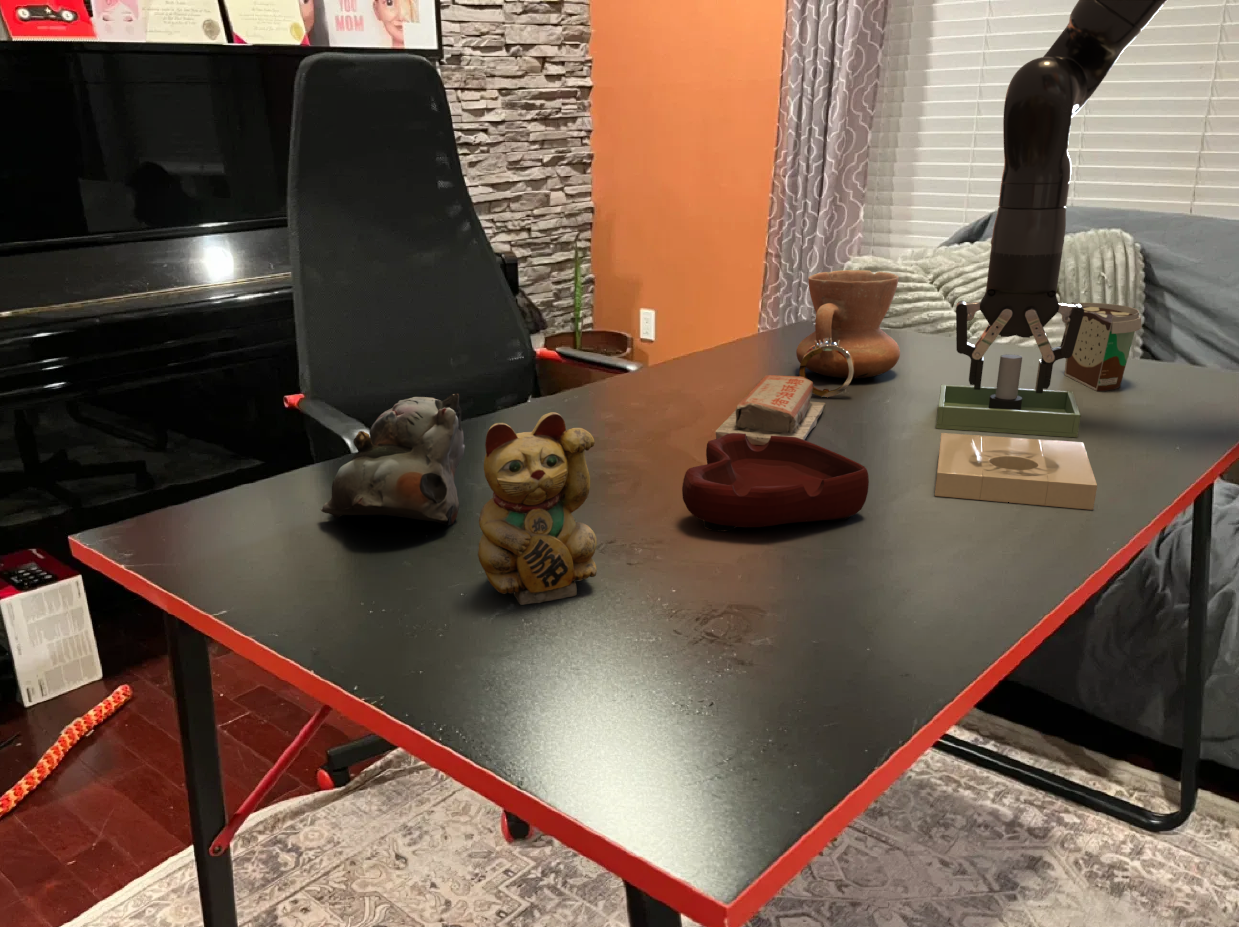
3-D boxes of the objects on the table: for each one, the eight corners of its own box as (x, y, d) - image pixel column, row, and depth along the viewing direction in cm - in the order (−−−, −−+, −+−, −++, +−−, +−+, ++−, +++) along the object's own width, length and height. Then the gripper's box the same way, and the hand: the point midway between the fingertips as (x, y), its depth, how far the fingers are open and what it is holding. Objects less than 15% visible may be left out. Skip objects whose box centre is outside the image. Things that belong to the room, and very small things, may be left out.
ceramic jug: (829, 357, 159) (835, 264, 154) (918, 368, 149) (928, 270, 144) (768, 379, 147) (772, 280, 141) (861, 394, 137) (869, 287, 132)
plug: (1019, 413, 124) (1027, 353, 121) (1020, 421, 121) (1028, 360, 118) (987, 411, 125) (994, 352, 123) (987, 419, 122) (995, 358, 120)
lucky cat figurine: (306, 512, 101) (335, 378, 102) (417, 536, 107) (443, 409, 108) (352, 514, 88) (385, 360, 89) (475, 542, 94) (504, 396, 95)
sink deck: (1079, 464, 107) (1083, 442, 106) (1093, 510, 95) (1097, 485, 94) (938, 454, 112) (941, 432, 111) (934, 496, 100) (937, 472, 99)
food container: (1149, 392, 133) (1163, 316, 129) (1102, 393, 133) (1114, 317, 129) (1103, 371, 144) (1114, 300, 141) (1059, 372, 145) (1070, 301, 141)
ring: (796, 398, 136) (799, 339, 133) (801, 392, 139) (804, 334, 136) (849, 402, 134) (854, 341, 131) (853, 396, 136) (858, 337, 133)
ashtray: (858, 553, 87) (862, 499, 86) (673, 534, 93) (673, 483, 91) (872, 487, 103) (876, 439, 101) (713, 474, 108) (714, 429, 107)
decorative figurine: (498, 618, 78) (487, 432, 73) (464, 579, 85) (451, 406, 80) (610, 593, 82) (607, 413, 76) (568, 557, 89) (562, 390, 83)
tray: (1069, 412, 126) (1072, 391, 125) (1077, 437, 116) (1080, 414, 115) (938, 404, 131) (941, 384, 130) (936, 428, 121) (938, 406, 120)
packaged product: (749, 370, 132) (827, 374, 128) (748, 406, 133) (825, 411, 130) (715, 404, 116) (802, 410, 113) (713, 444, 118) (800, 452, 114)
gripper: (958, 251, 115) (943, 394, 121) (1100, 252, 110) (1076, 401, 116) (959, 243, 122) (944, 380, 128) (1093, 244, 117) (1071, 386, 123)
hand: (1007, 389), depth 122 cm, fingers open, 6 cm apart
